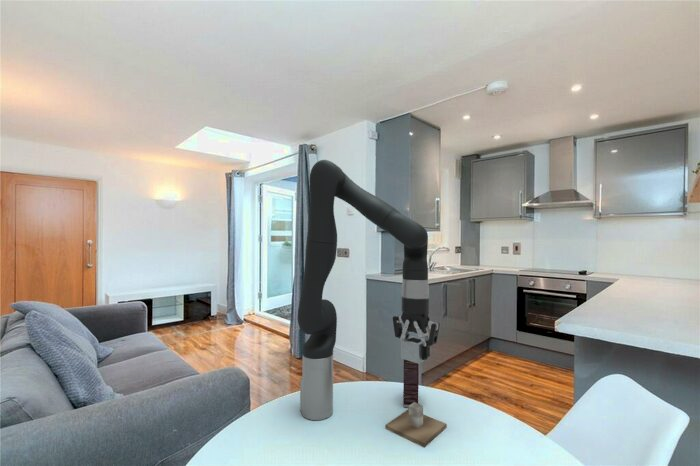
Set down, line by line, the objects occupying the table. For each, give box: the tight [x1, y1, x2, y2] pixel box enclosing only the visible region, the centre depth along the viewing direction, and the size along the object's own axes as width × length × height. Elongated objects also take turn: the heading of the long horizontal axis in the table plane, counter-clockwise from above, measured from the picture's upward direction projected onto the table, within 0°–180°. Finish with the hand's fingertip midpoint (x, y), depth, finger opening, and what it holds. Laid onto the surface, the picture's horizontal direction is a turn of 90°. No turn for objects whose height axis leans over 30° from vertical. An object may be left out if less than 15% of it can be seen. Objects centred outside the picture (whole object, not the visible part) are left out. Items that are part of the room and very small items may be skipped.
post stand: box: [384, 402, 447, 448], centre depth 87 cm, size 12×12×6 cm
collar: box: [400, 335, 430, 364], centre depth 88 cm, size 6×6×5 cm
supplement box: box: [402, 359, 420, 409], centre depth 102 cm, size 9×5×16 cm, turn 168°
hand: (415, 356), depth 88 cm, fingers closed on collar, 5 cm apart
